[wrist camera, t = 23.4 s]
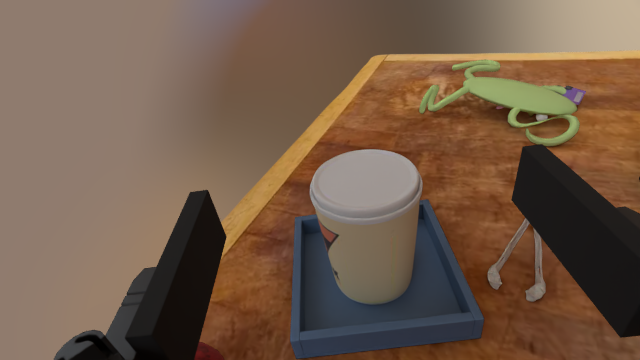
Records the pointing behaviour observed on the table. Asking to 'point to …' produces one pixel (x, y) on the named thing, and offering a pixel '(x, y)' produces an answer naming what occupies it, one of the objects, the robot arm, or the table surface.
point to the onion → (207, 353)
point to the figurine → (515, 99)
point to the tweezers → (539, 286)
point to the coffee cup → (369, 221)
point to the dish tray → (383, 319)
